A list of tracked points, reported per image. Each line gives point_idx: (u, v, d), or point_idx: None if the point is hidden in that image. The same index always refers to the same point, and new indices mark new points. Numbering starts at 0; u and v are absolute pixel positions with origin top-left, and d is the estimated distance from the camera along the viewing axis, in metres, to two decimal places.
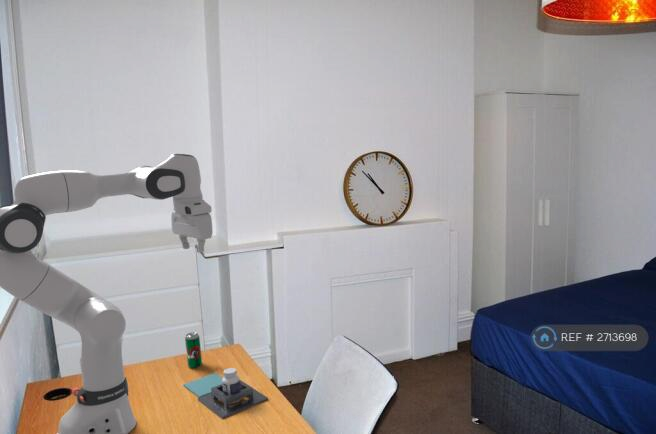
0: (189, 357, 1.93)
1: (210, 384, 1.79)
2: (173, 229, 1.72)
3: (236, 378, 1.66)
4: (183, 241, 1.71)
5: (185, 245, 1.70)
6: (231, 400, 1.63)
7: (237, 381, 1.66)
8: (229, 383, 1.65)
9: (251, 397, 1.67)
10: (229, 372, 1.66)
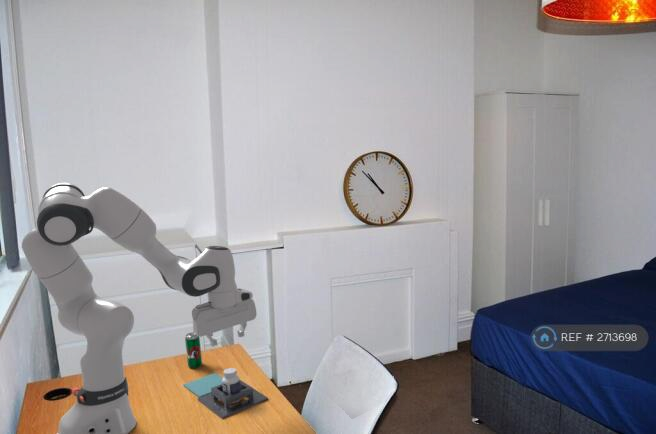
0: (189, 357, 1.93)
1: (210, 384, 1.79)
2: (202, 331, 1.58)
3: (236, 378, 1.66)
4: None
5: None
6: (231, 400, 1.63)
7: (237, 381, 1.66)
8: (229, 383, 1.65)
9: (251, 397, 1.67)
10: (229, 372, 1.66)
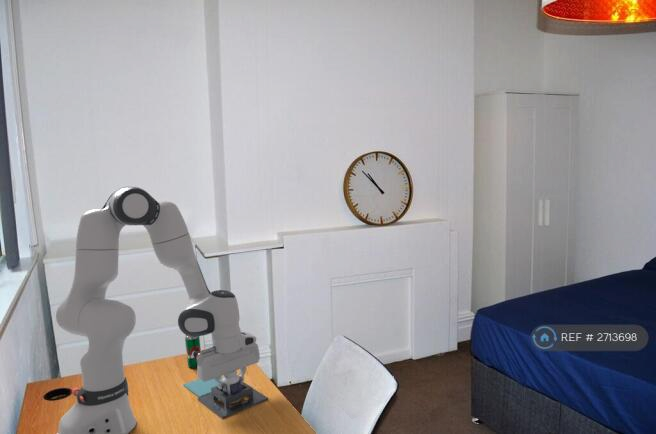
0: (189, 357, 1.93)
1: (210, 384, 1.79)
2: (207, 376, 1.60)
3: (236, 378, 1.66)
4: (220, 382, 1.65)
5: None
6: (231, 400, 1.63)
7: (237, 381, 1.66)
8: (229, 383, 1.65)
9: (251, 397, 1.67)
10: None
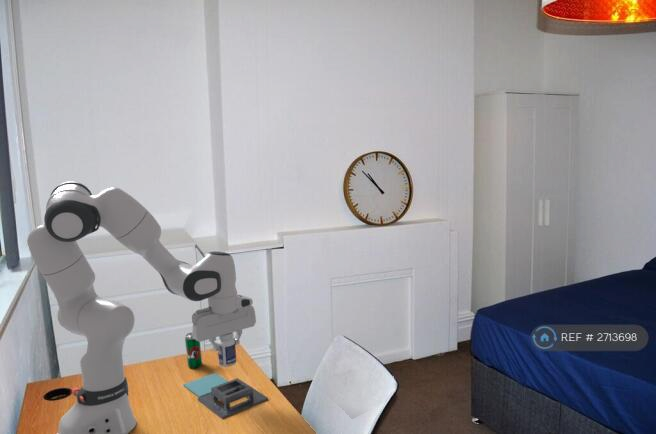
0: (189, 357, 1.93)
1: (210, 384, 1.79)
2: (202, 336, 1.58)
3: (231, 341, 1.65)
4: None
5: None
6: (231, 400, 1.63)
7: (232, 344, 1.64)
8: (224, 346, 1.63)
9: (251, 397, 1.67)
10: (225, 335, 1.64)
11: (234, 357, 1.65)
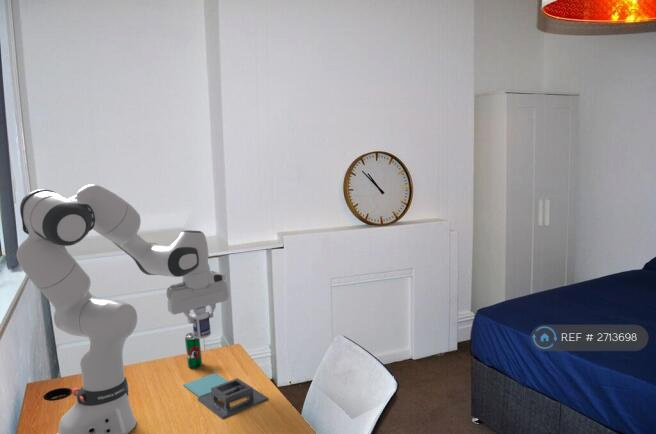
0: (189, 357, 1.93)
1: (210, 384, 1.79)
2: (176, 309, 1.68)
3: (205, 314, 1.75)
4: None
5: None
6: (231, 400, 1.63)
7: (206, 317, 1.74)
8: (198, 318, 1.73)
9: (251, 397, 1.67)
10: (198, 308, 1.74)
11: (208, 329, 1.75)
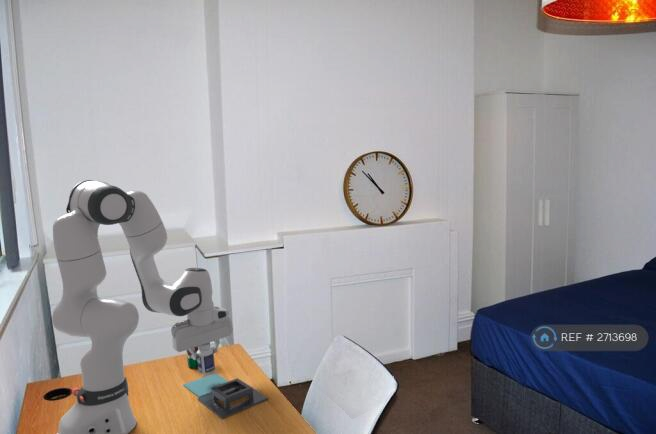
0: (189, 357, 1.93)
1: (210, 384, 1.79)
2: (181, 347, 1.70)
3: (210, 351, 1.77)
4: (194, 353, 1.75)
5: None
6: (231, 400, 1.63)
7: (211, 353, 1.77)
8: (203, 355, 1.75)
9: (251, 397, 1.67)
10: (203, 345, 1.76)
11: (212, 365, 1.77)
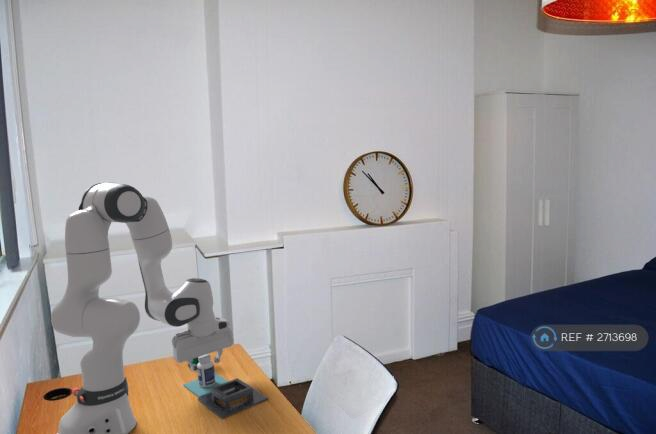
0: None
1: None
2: (182, 358, 1.71)
3: (210, 363, 1.77)
4: (192, 364, 1.75)
5: None
6: (231, 400, 1.63)
7: (211, 366, 1.77)
8: (203, 368, 1.76)
9: (251, 397, 1.67)
10: (203, 358, 1.77)
11: (213, 378, 1.78)
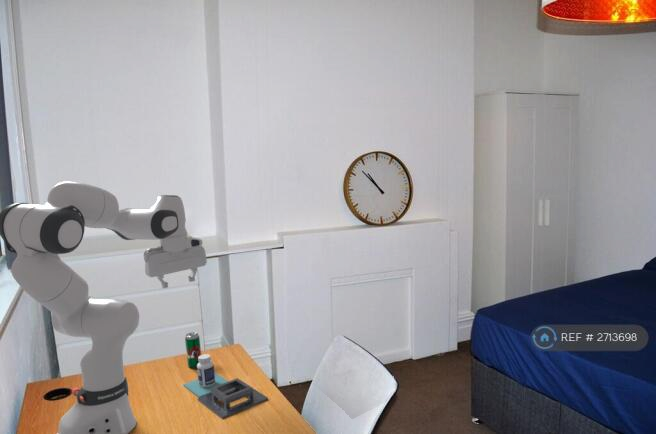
0: (189, 357, 1.93)
1: None
2: (153, 272, 1.71)
3: (210, 363, 1.77)
4: None
5: None
6: (231, 400, 1.63)
7: (211, 366, 1.77)
8: (203, 368, 1.76)
9: (251, 397, 1.67)
10: (203, 358, 1.77)
11: (213, 378, 1.78)
